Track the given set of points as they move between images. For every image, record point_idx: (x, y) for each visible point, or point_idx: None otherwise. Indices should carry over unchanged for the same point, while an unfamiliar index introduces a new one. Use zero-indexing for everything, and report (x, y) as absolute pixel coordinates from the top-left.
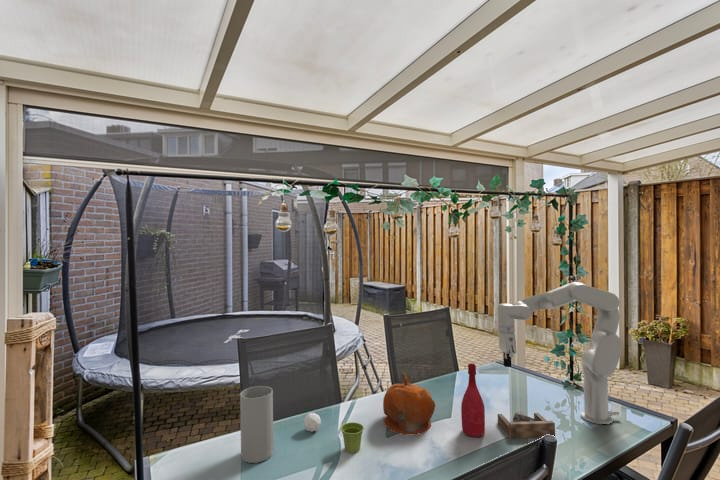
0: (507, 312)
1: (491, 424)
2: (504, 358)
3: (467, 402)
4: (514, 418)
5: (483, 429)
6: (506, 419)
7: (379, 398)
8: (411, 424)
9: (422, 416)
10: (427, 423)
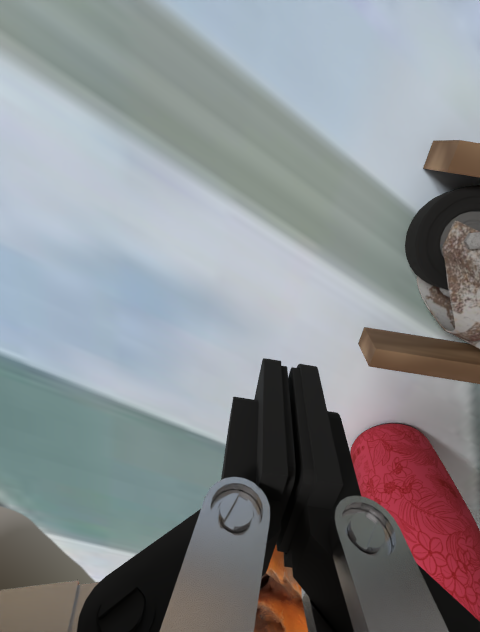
0: None
1: (360, 371)
2: (286, 565)
3: None
4: (476, 344)
5: (436, 453)
6: (434, 359)
7: (98, 560)
8: None
9: None
10: None
